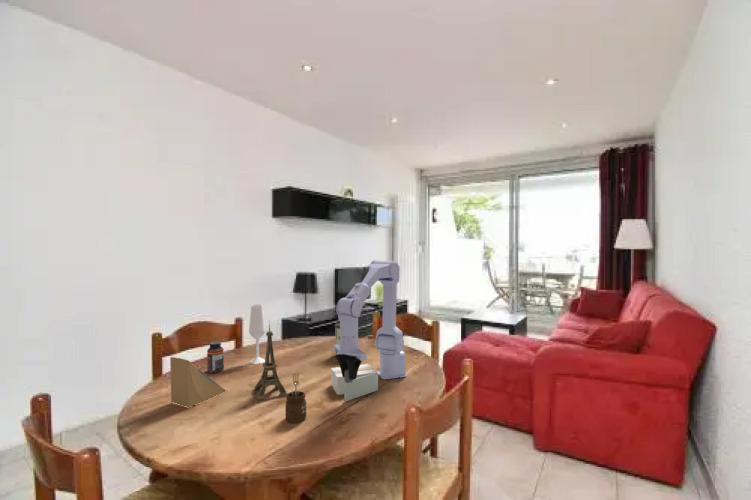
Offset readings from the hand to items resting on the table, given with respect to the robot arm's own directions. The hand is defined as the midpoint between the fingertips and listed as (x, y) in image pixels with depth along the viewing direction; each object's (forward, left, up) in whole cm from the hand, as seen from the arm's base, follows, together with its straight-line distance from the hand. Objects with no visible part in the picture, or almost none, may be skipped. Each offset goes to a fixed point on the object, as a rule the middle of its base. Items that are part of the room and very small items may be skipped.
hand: (349, 377), depth 122 cm
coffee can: (-11, -47, -8) cm, 49 cm away
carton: (-4, -10, -7) cm, 14 cm away
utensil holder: (+18, +7, -8) cm, 20 cm away
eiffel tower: (+24, -14, -8) cm, 29 cm away
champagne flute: (+27, -51, -8) cm, 58 cm away
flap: (-5, -2, -7) cm, 9 cm away
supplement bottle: (+43, -44, -8) cm, 62 cm away
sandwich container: (+45, -19, -8) cm, 50 cm away
